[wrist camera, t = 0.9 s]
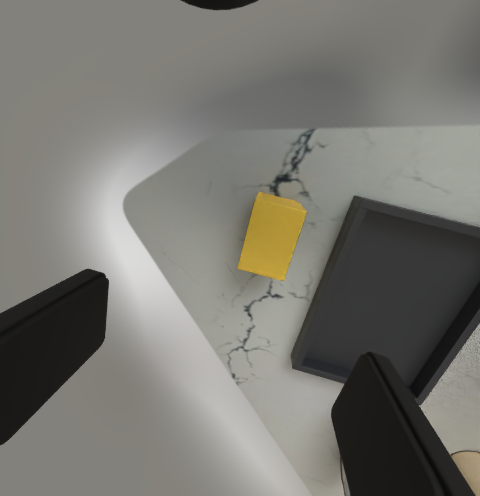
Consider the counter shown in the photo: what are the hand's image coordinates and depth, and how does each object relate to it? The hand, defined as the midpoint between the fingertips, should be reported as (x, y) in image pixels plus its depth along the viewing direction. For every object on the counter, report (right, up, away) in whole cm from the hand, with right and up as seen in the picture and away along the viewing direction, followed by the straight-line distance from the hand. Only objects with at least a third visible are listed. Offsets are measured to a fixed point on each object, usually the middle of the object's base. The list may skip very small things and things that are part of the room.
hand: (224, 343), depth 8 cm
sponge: (+4, +6, +15) cm, 17 cm away
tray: (+16, -3, +16) cm, 23 cm away
